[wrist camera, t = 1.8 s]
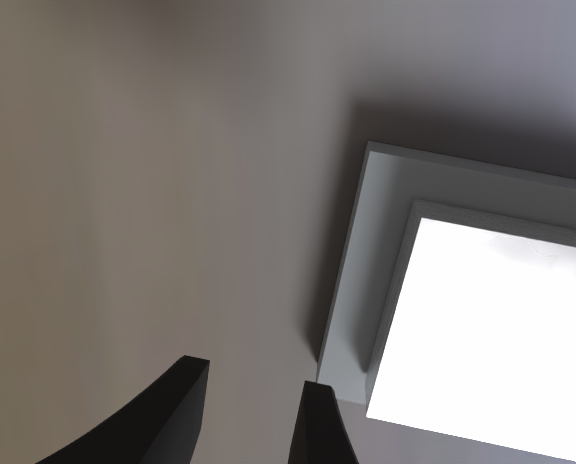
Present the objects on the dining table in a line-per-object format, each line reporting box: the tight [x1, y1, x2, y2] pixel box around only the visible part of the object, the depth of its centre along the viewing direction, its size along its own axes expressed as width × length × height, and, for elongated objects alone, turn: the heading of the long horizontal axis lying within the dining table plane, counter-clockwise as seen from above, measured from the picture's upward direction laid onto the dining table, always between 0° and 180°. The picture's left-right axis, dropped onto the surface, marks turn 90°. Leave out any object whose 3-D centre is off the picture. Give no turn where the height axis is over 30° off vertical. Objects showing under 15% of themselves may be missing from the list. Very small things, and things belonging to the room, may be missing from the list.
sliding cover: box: [365, 199, 576, 461], centre depth 18 cm, size 8×8×2 cm
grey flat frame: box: [316, 140, 576, 405], centre depth 19 cm, size 18×10×2 cm, turn 80°
